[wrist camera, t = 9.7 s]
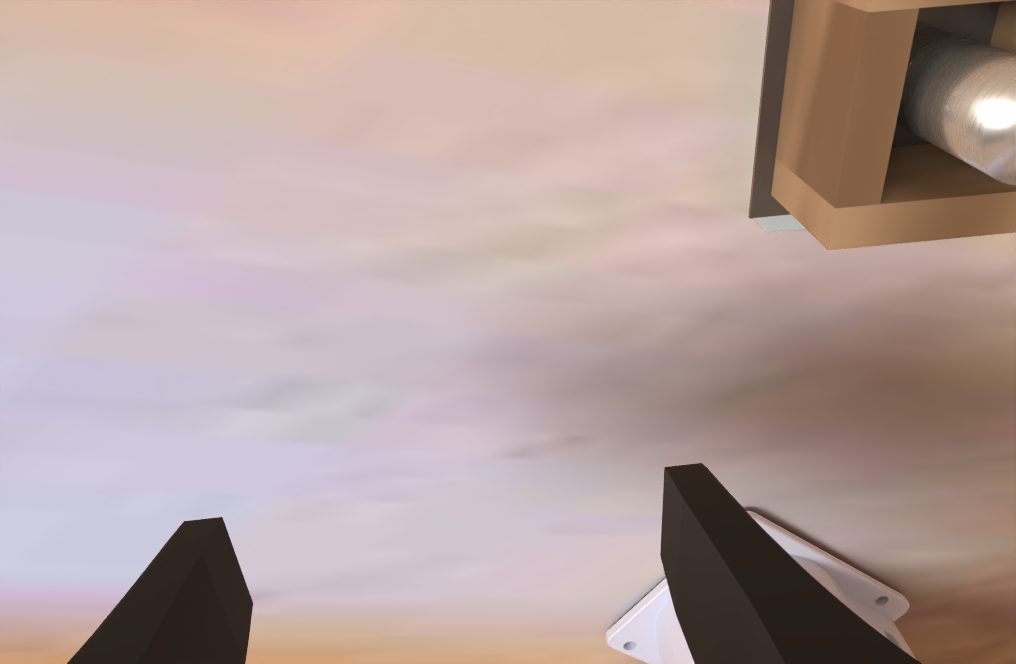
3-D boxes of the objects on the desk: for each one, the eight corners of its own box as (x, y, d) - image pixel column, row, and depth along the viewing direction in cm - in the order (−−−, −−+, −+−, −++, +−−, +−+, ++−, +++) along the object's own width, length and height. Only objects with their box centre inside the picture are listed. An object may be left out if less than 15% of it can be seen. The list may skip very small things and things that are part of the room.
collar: (1063, -82, 17) (1190, -71, 15) (993, 174, 21) (1085, 225, 18) (802, -61, 17) (877, -46, 14) (771, 194, 20) (828, 250, 17)
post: (1085, -106, 17) (1300, -96, 13) (1003, 191, 21) (1149, 275, 17) (778, -79, 17) (894, -60, 13) (748, 217, 21) (831, 309, 16)
